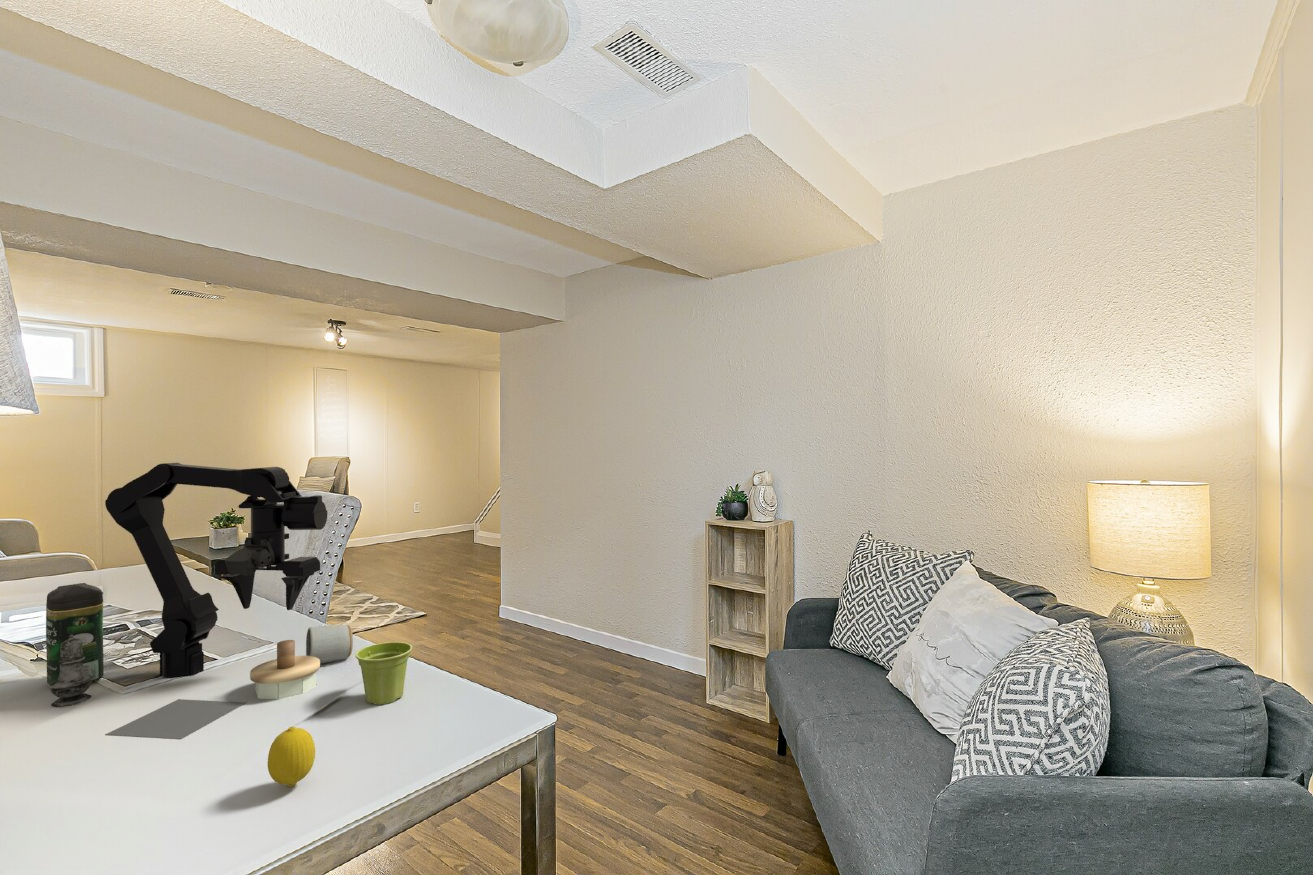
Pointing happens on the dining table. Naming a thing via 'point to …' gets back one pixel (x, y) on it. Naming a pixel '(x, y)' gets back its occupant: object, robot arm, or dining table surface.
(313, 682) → the bowl
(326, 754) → the dining table surface
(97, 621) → the coffee jar
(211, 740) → the dining table surface
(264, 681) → the lid
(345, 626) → the ceramic mug
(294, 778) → the lemon
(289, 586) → the robot arm
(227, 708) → the mat
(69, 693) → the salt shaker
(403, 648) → the plant pot
